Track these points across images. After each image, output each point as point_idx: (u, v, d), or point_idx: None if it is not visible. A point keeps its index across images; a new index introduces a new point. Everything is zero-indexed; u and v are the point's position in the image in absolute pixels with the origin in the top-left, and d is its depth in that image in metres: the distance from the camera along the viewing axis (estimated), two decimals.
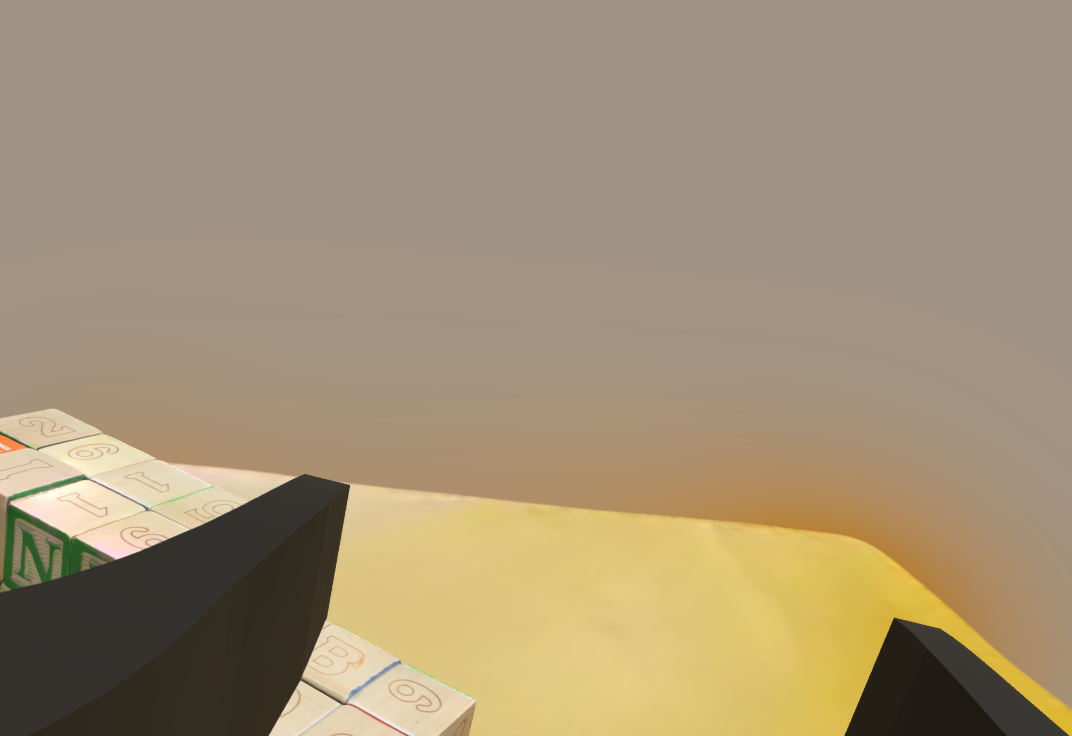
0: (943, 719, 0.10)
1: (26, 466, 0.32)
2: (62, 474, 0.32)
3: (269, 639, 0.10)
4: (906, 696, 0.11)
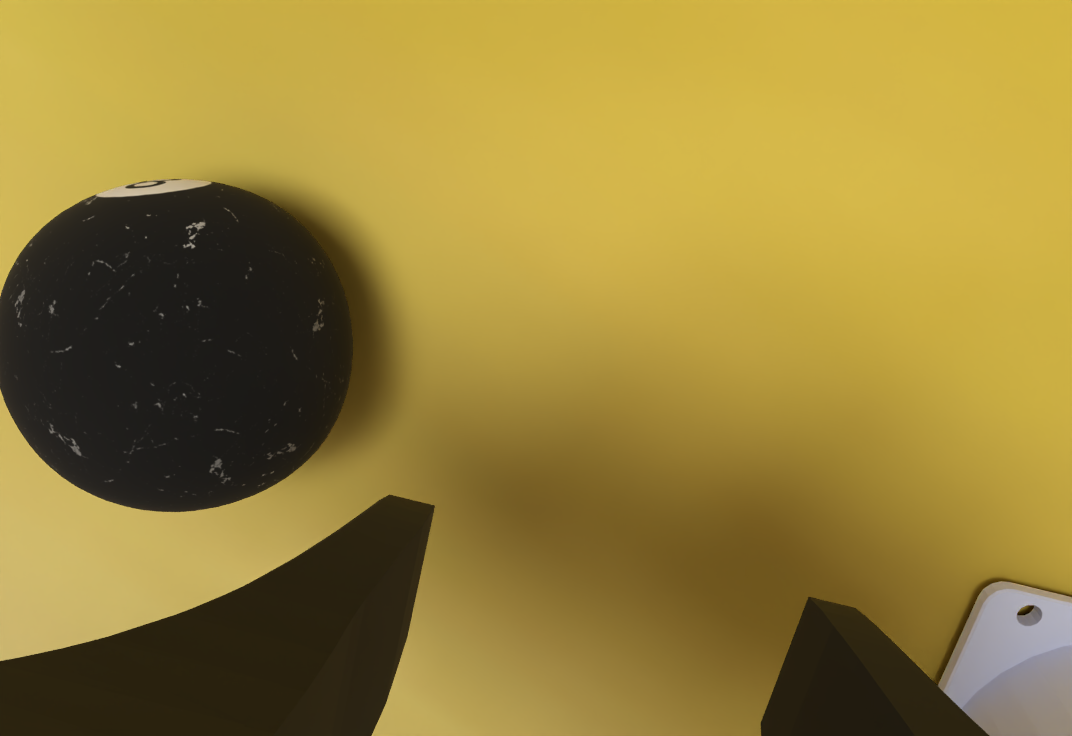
0: (844, 695, 0.10)
1: None
2: None
3: (370, 665, 0.10)
4: (814, 673, 0.11)
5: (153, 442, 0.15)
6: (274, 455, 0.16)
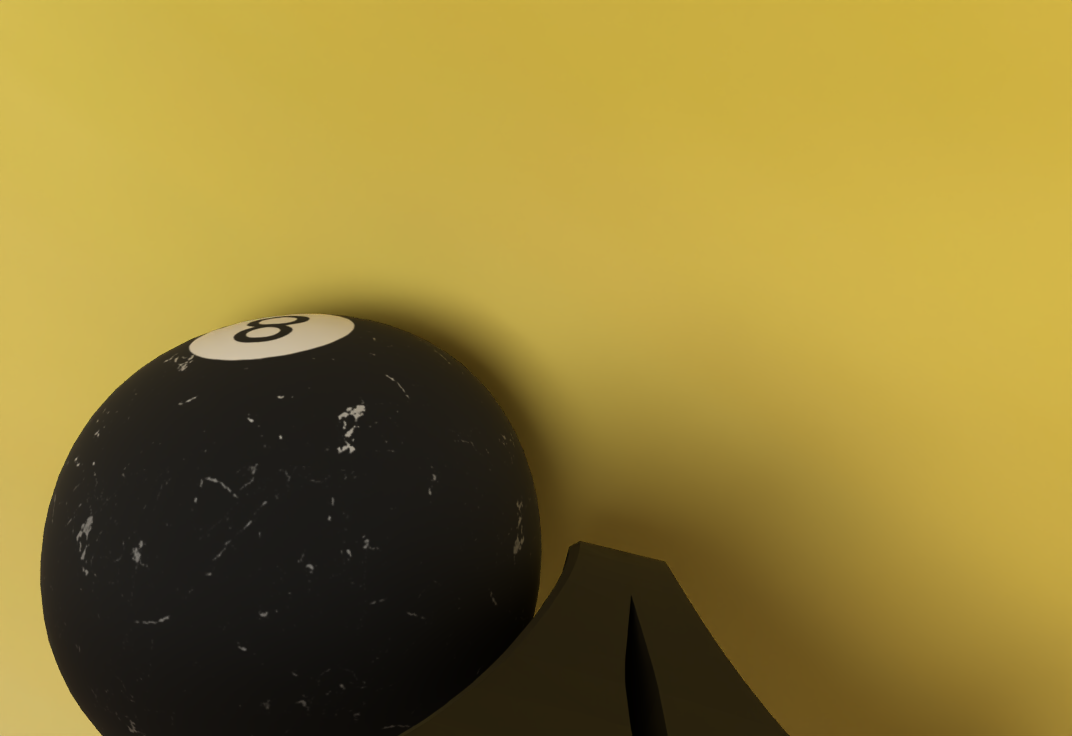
0: None
1: None
2: None
3: None
4: None
5: None
6: None
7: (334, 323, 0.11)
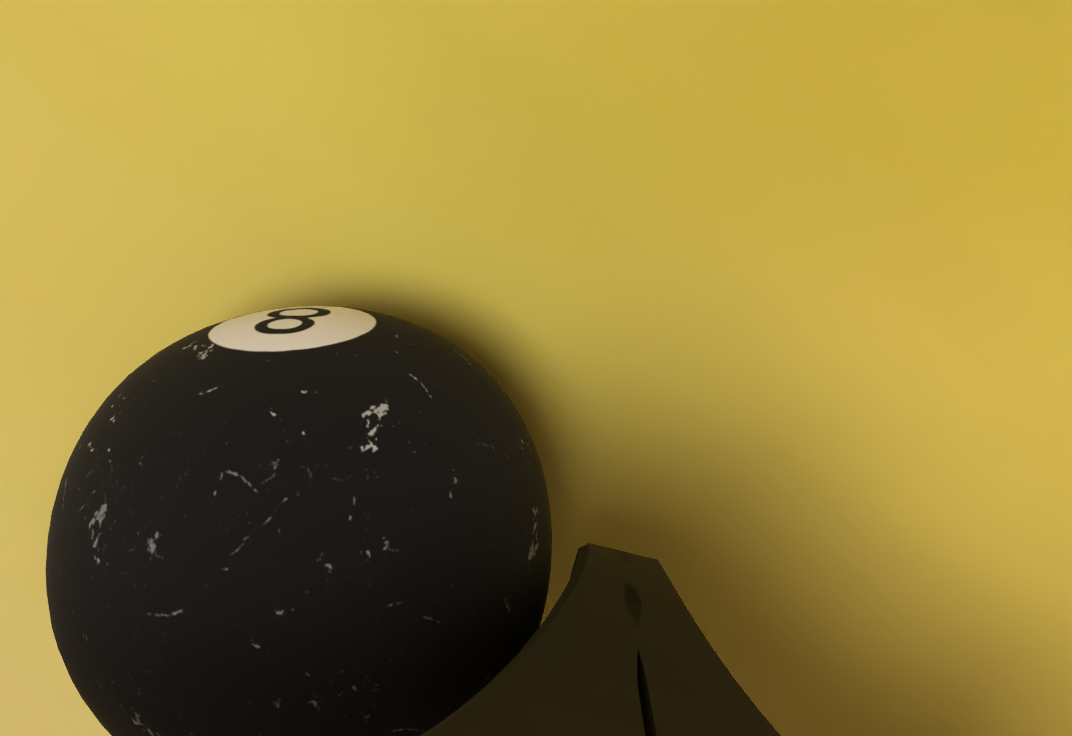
0: None
1: None
2: None
3: None
4: None
5: None
6: None
7: (356, 318, 0.11)
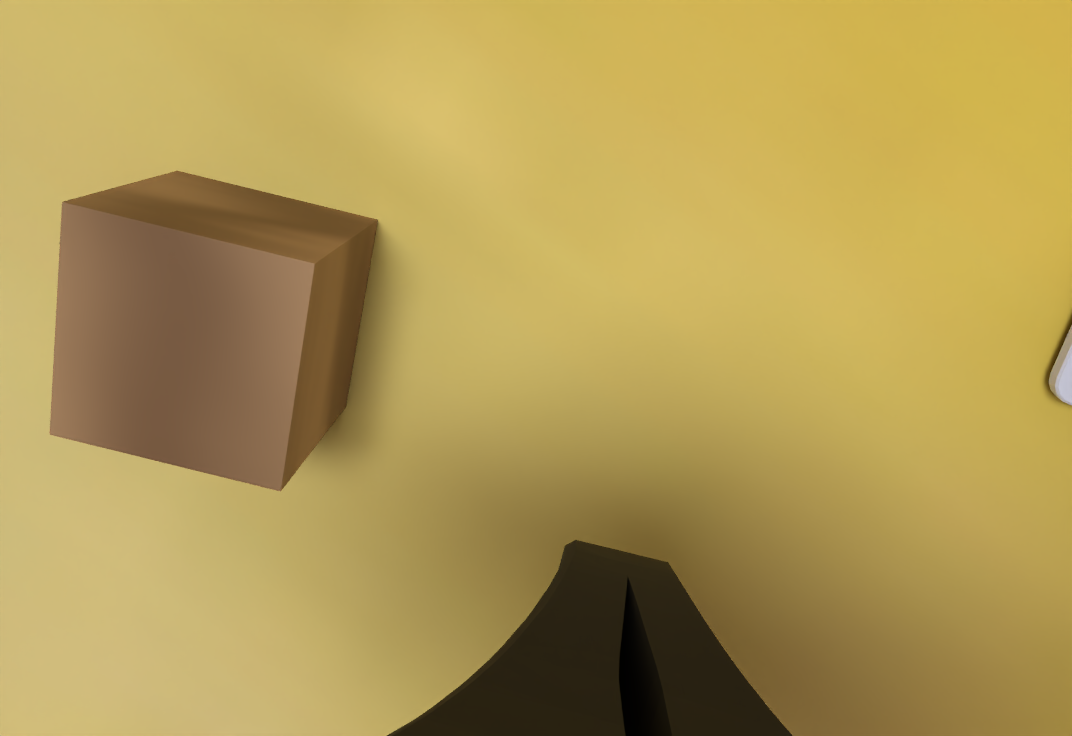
0: (626, 642, 0.10)
1: None
2: None
3: None
4: None
5: None
6: None
7: None
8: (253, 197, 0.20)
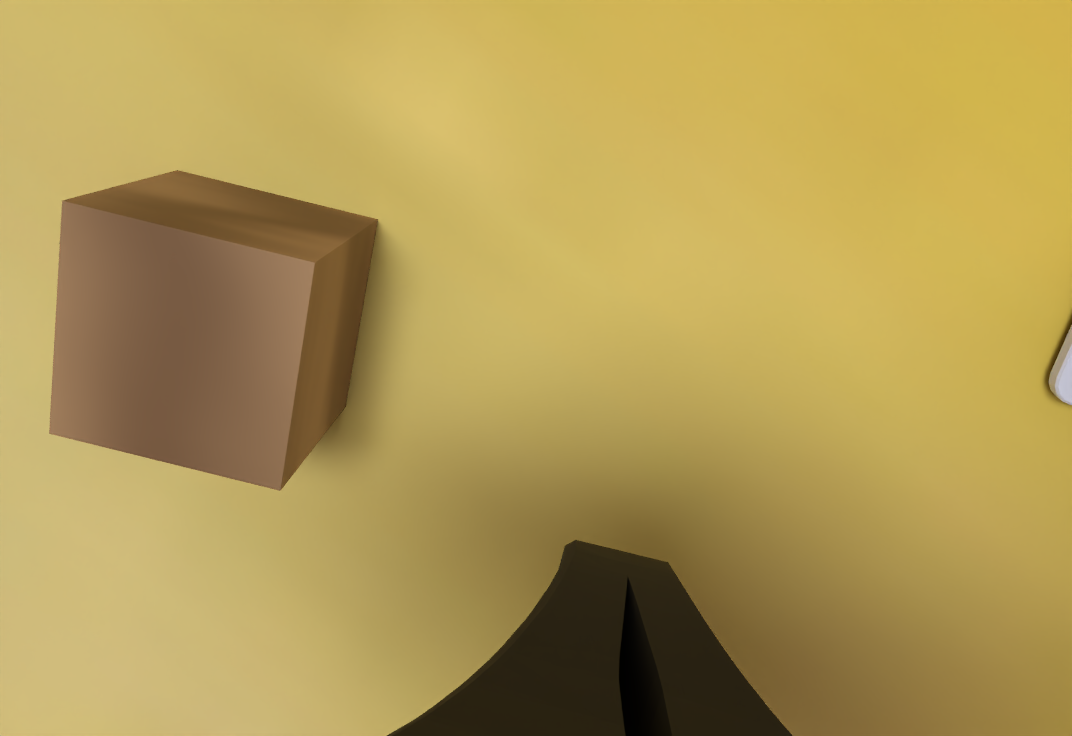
0: (626, 642, 0.10)
1: None
2: None
3: None
4: None
5: None
6: None
7: None
8: (253, 197, 0.20)
